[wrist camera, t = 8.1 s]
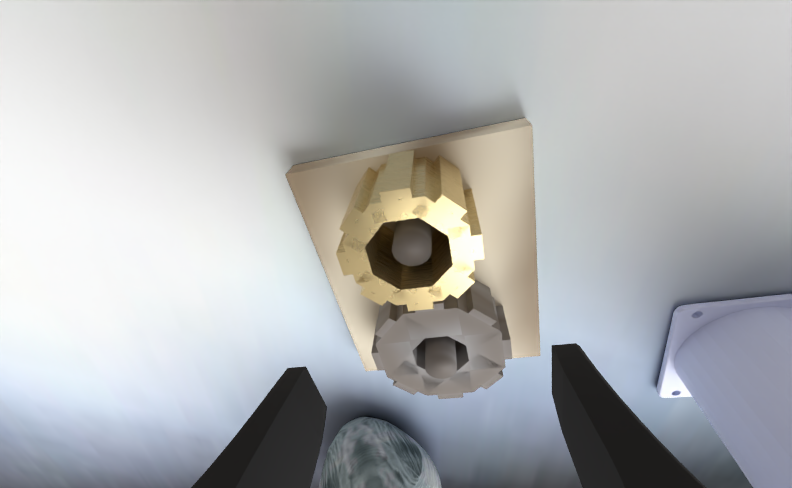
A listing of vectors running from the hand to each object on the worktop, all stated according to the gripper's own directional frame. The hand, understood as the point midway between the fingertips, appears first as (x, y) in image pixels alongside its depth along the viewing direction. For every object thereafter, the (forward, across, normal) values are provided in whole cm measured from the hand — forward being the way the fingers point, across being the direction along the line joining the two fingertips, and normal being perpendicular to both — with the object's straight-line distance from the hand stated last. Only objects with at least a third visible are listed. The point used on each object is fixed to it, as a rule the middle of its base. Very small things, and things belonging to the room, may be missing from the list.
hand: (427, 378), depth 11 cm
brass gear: (+9, 0, -1) cm, 9 cm away
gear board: (+10, 0, +3) cm, 10 cm away
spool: (+10, +7, +22) cm, 25 cm away
